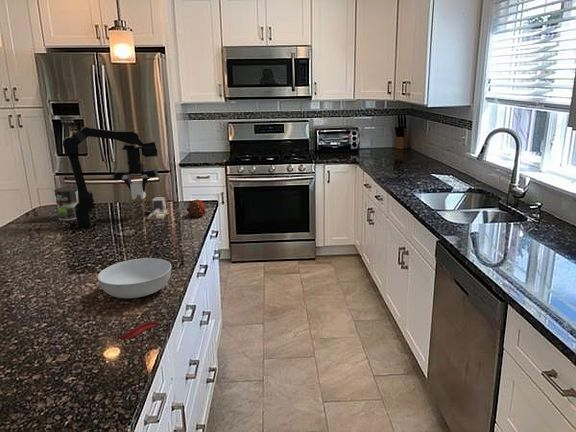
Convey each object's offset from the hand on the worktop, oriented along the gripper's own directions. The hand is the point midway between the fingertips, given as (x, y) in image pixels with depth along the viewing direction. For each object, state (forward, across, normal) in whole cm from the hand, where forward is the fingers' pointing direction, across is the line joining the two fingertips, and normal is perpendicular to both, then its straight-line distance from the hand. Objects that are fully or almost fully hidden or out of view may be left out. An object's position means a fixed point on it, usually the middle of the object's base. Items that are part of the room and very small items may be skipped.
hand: (138, 192), depth 217 cm
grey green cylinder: (+12, +35, -8) cm, 38 cm away
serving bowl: (+12, -16, +84) cm, 87 cm away
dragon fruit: (+13, -26, 0) cm, 29 cm away
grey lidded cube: (+2, 0, 0) cm, 2 cm away
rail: (+12, -7, -4) cm, 15 cm away
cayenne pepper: (+13, -22, +109) cm, 112 cm away
